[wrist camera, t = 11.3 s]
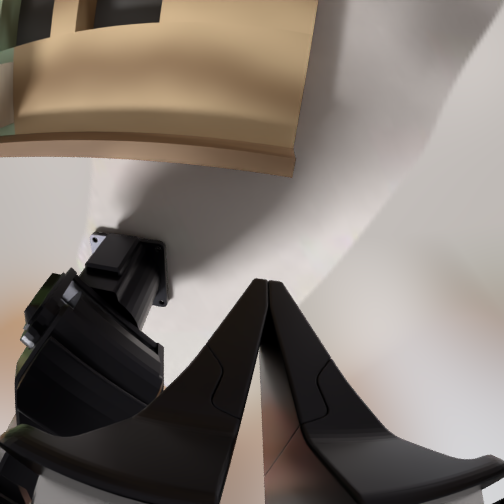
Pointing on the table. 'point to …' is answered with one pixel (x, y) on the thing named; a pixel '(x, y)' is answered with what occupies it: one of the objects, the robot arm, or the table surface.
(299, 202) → the table surface
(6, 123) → the block
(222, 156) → the box
